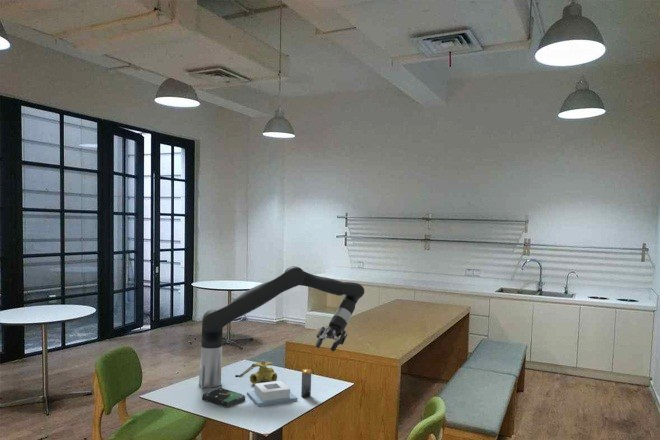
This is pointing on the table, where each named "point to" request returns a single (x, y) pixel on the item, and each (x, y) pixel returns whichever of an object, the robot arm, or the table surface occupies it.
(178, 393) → the table surface
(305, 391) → the gold topped tube
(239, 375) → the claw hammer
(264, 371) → the ball valve
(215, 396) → the disk drive
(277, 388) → the socket mount
